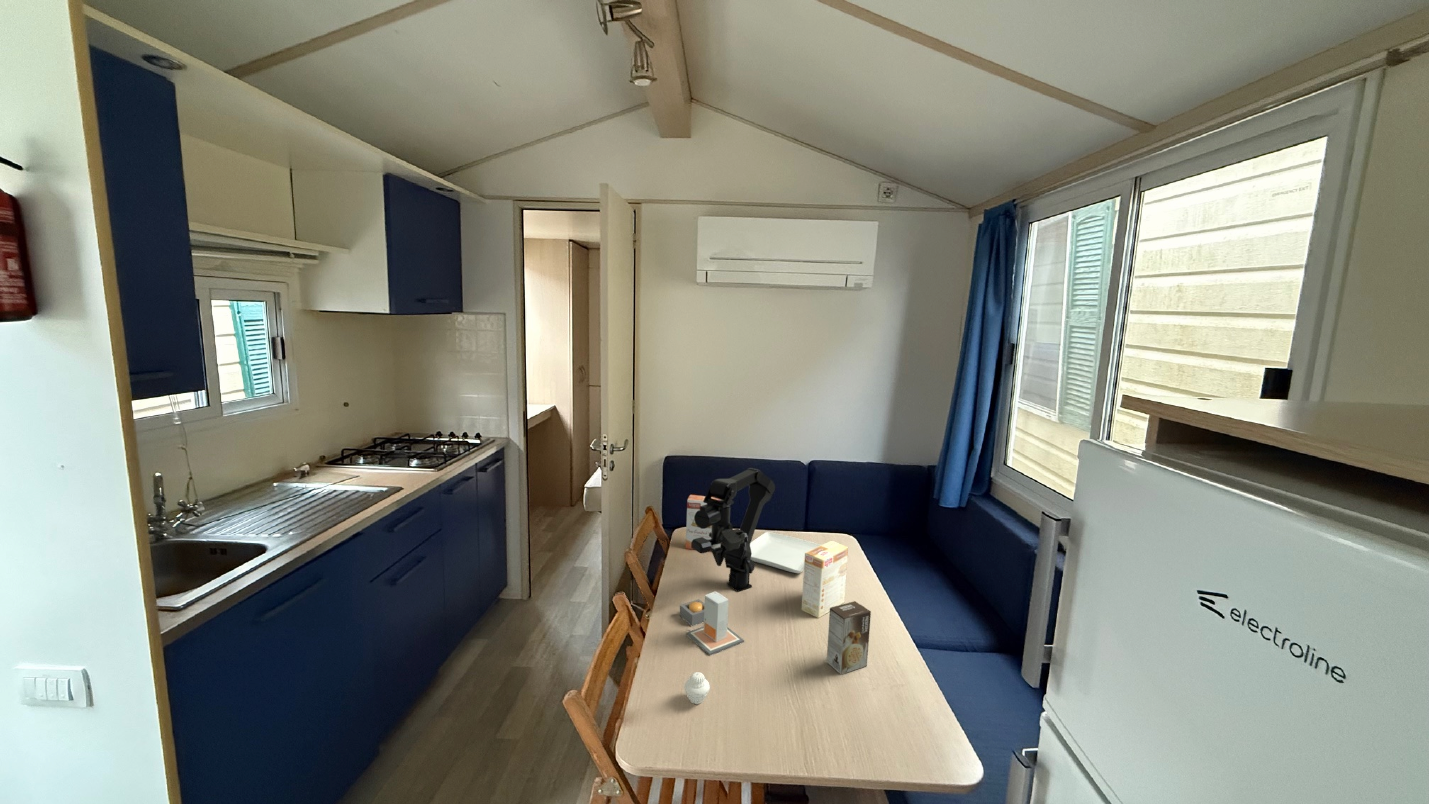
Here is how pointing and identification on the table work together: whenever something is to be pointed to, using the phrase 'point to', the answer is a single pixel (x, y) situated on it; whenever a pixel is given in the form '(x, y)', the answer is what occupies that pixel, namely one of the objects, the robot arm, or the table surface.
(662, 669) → the table surface
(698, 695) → the white lidded jar
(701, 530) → the cracker box
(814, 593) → the coffeecake box
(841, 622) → the coffee box
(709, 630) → the skincare box
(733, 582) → the robot arm
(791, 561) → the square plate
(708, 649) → the picture board
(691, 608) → the button
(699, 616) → the button housing
